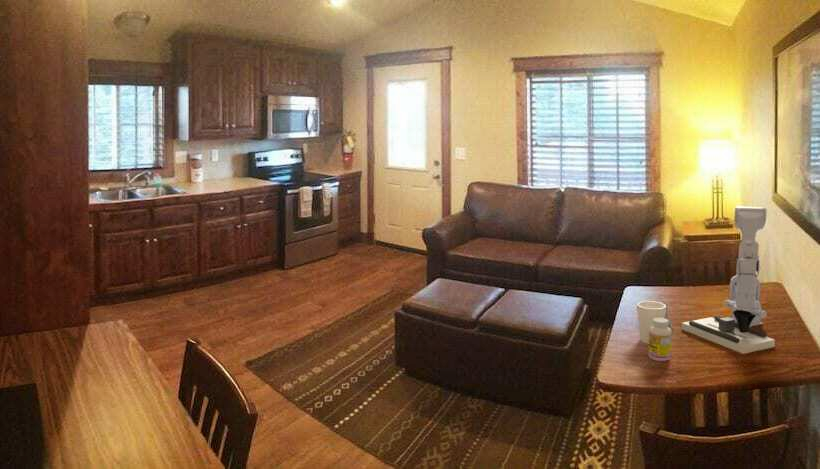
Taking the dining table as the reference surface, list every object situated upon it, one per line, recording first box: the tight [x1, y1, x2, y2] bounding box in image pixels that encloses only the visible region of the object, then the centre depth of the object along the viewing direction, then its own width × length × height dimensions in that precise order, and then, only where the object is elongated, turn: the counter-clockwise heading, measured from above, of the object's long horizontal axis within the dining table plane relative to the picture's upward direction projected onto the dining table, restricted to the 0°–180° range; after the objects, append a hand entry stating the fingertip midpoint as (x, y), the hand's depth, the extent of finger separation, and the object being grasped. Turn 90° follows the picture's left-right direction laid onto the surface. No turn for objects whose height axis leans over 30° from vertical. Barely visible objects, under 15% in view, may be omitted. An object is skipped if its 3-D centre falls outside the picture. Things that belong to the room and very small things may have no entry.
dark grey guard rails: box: [688, 315, 768, 343], centre depth 207 cm, size 14×20×2 cm
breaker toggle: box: [718, 316, 735, 332], centre depth 207 cm, size 4×3×4 cm
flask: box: [660, 301, 674, 332], centre depth 217 cm, size 7×7×10 cm
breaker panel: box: [681, 316, 776, 355], centre depth 208 cm, size 14×26×3 cm, turn 20°
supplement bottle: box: [648, 318, 673, 362], centre depth 192 cm, size 7×7×13 cm
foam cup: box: [636, 300, 666, 345], centre depth 207 cm, size 10×9×13 cm
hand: (743, 332), depth 201 cm, fingers closed
